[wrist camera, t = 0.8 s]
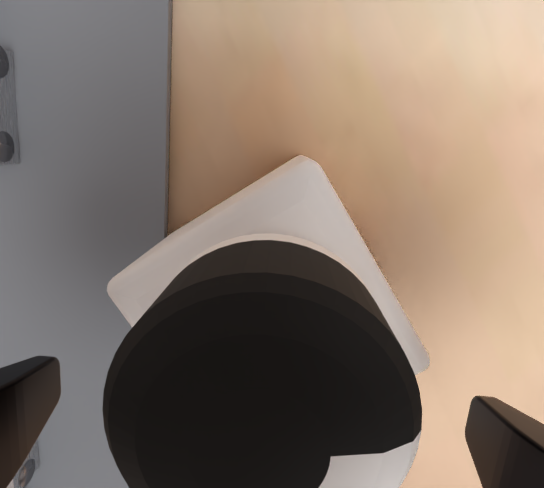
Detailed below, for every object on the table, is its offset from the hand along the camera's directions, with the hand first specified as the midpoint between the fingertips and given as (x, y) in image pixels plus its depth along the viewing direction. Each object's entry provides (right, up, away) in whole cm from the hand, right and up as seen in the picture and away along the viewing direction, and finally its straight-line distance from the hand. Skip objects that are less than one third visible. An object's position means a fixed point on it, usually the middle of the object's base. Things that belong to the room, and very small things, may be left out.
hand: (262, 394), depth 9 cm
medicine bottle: (0, +3, +10) cm, 10 cm away
